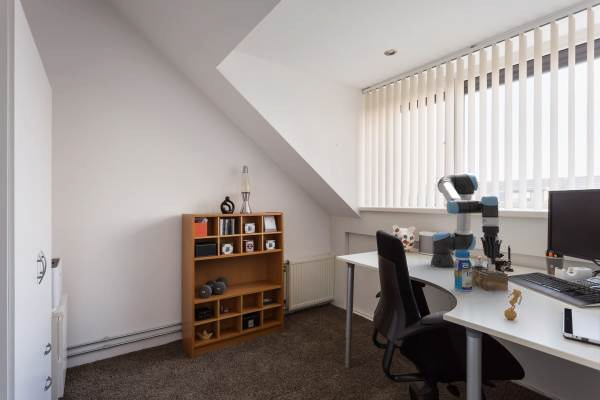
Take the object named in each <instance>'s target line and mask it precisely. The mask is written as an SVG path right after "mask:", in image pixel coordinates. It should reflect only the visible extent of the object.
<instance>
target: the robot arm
mask: <svg viewBox="0 0 600 400" xmlns="http://www.w3.org/2000/svg"><path fill="white" fill-rule="evenodd" d="M478 188H479V182H478V178H477V176H476V174H474V173H472V172H471V173H469V172H468V173H467V172H466V173H450V174H449V173H448V174H446V175H444V176H442V177H440V179H439V180H438V181H437V189H438V191H439V192H440V194H442V195H443V197H444V198H445V199H444V200H446V204H445V205H446V207H445V208H446V212H447V213H448V214H451V215H453V214H454V215H456V229H454V231H453V233H452V232H450V231H441V232H439V231H438V232H435V233H434V234H433V235H432V253H433V254H432V257H431V260H430V266H432V265H434V266H433V267H437V266H438V267H439V268H452V267H453V268H454V267H455V265H454V262H455V260H454V259H453V256H452V251H454V252H455V251H457V250H464V251H469V252H470V251H473V250H474V249H475V247H476V244H477V240H476V239H477V238H476V234H474V232H473V230H471V228H472V227H471V222H472V221H471V220H472V214H481V225H482V226H481V232H482V233H483V236H481V237H479V238H480V240H481V243H482V250H483V255H484V256H486V258H487V263H488V270H490V271H494V270H495V264H496V263H495V262H496V261H495V259H496V258H499V257H500V252H501V251H500V250H501V244H502V243H503V240H502V239H499V235H498V234H499V233H500V226H499V225H500V219H499V197H498V196H497V195H495V196H494V195H487V196H486V195H485V196H484V195H483V196H481V198H480V199H472V196H473V195H474V194H475V192H476V191H477V190H478ZM438 267H437V268H438Z"/></svg>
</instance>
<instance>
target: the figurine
mask: <svg viewBox="0 0 600 400" xmlns="http://www.w3.org/2000/svg"><path fill="white" fill-rule="evenodd" d="M512 295H513V297H512V298H511V299H510V300H509V304H510V305H511V306H510V307H509V308H507V309H505V310H504V312H503V315H504V317H505V318H506V319H507V320H510V321H513V320H515V319H516V318H517V313H516V311H515V309H516V305H515V304H516V303H517V305H521V302H522V299H523V295H522V291H521V290H518V289H516V288H513V290H512V292H511V293H510V294H509V295H508V296H507V299H509V298H510V297H511V296H512ZM518 301H519V302H518Z"/></svg>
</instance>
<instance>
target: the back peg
mask: <svg viewBox="0 0 600 400" xmlns="http://www.w3.org/2000/svg"><path fill="white" fill-rule="evenodd" d="M473 258H474V266H475V268H477V269H482V268H483V267H484V259H483V258H484V256H480V255H479V256H478V255H476V256H474V257H473Z"/></svg>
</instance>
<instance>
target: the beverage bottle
mask: <svg viewBox="0 0 600 400" xmlns="http://www.w3.org/2000/svg"><path fill="white" fill-rule="evenodd" d="M454 255H455V256H454V257H455V260H454V266H453V271H454V272H453V273H454V275H453V277H454V289H455V290H457V291H459V292H471V291H473V284H472V268H471V266H473V265H472V262H471V260H470V257H471V255H470V251H464V250H457V251H454Z"/></svg>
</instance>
